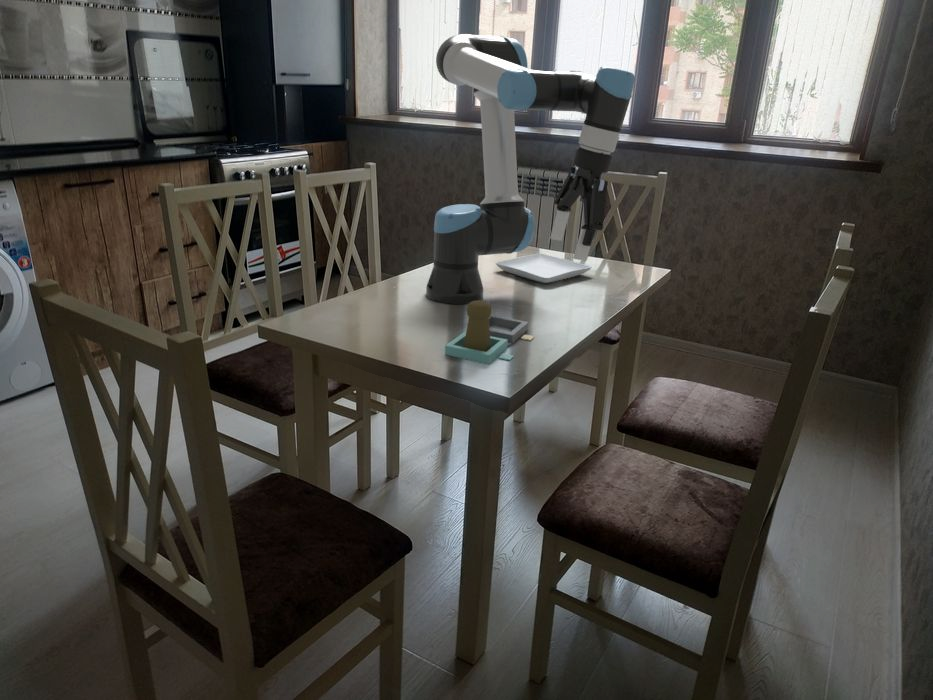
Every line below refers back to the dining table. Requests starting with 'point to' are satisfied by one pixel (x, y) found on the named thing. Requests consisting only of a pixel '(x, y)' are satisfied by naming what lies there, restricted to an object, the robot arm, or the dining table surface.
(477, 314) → the cork
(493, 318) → the panel
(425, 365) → the dining table surface
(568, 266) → the salad plate
